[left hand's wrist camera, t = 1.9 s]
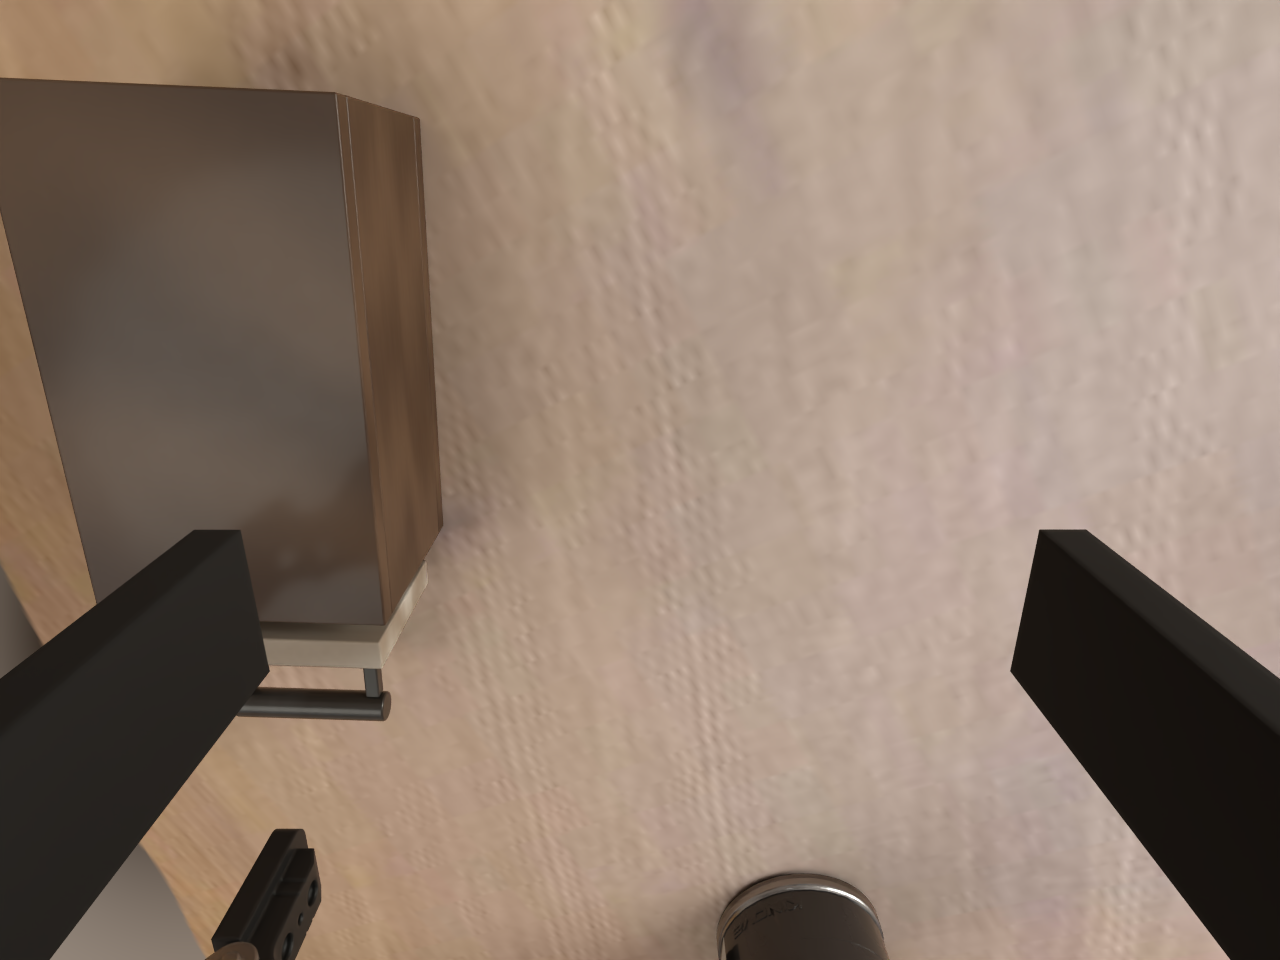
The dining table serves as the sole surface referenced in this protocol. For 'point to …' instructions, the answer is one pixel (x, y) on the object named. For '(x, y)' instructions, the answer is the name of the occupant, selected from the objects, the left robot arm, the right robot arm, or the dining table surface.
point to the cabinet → (232, 330)
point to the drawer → (333, 664)
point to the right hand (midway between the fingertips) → (150, 849)
